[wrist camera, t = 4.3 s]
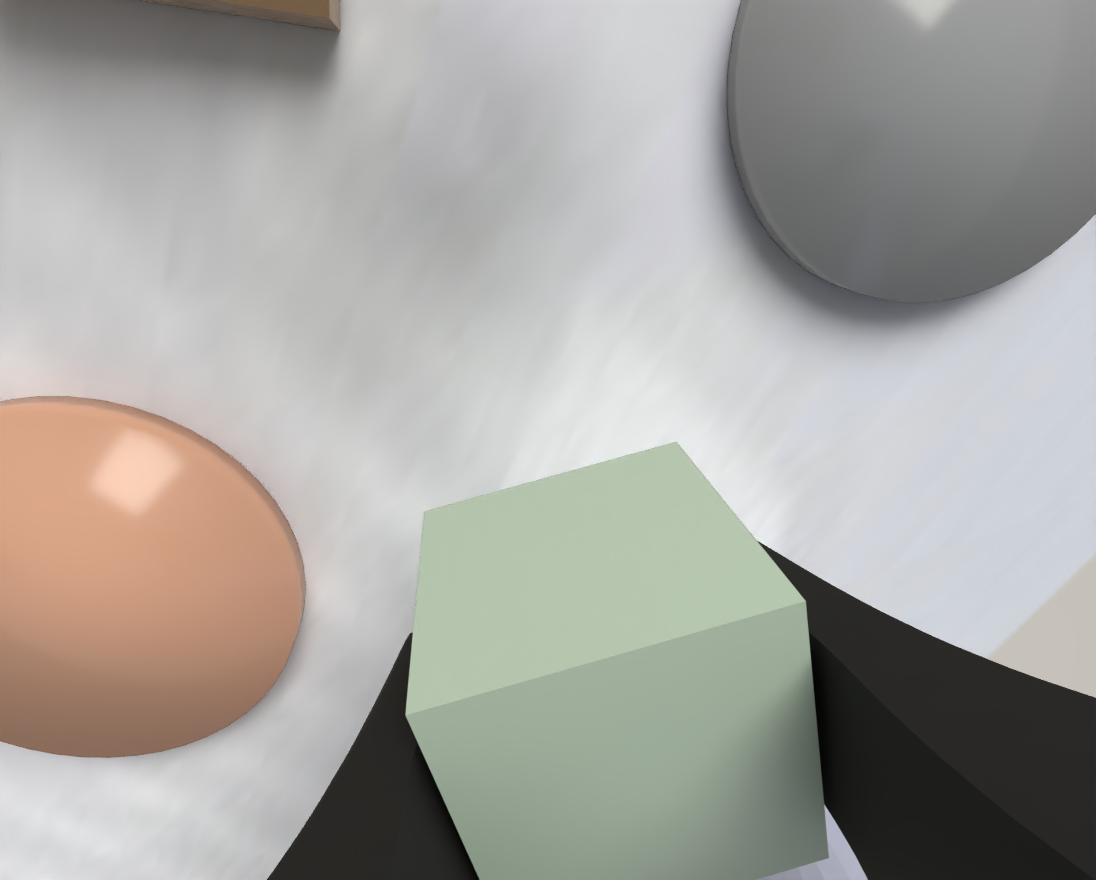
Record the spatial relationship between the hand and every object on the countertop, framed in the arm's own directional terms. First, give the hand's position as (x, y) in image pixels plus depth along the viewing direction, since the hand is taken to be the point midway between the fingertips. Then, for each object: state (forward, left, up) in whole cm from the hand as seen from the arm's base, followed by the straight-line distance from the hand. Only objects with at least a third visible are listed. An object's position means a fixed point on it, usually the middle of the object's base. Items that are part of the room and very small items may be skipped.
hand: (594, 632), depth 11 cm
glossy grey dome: (+10, -8, -7) cm, 14 cm away
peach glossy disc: (-4, +11, -7) cm, 14 cm away
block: (0, 0, -1) cm, 1 cm away
